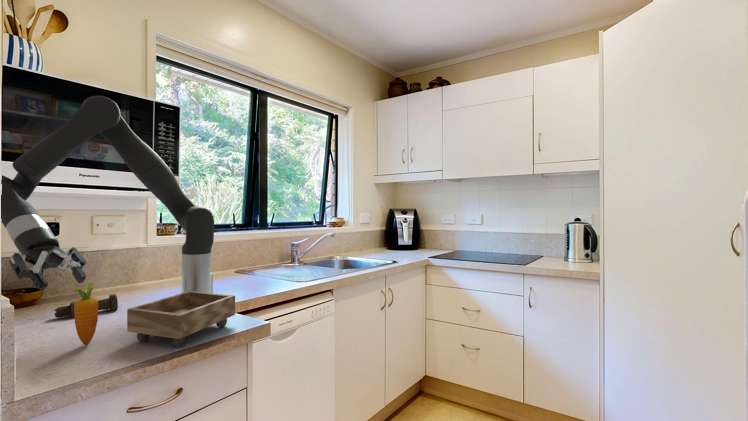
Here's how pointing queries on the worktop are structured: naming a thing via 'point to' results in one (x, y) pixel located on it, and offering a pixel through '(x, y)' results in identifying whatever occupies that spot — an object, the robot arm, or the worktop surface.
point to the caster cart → (180, 315)
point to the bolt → (102, 304)
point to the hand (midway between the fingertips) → (64, 284)
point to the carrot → (86, 315)
